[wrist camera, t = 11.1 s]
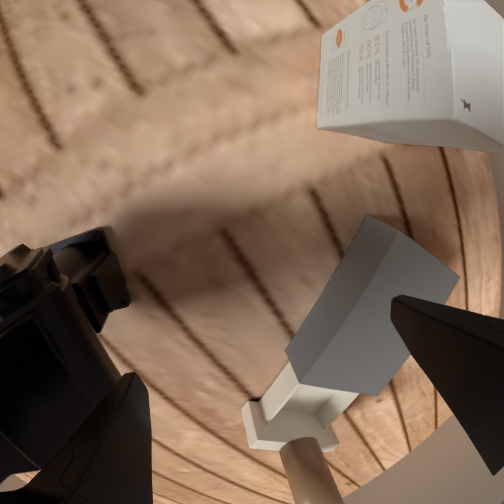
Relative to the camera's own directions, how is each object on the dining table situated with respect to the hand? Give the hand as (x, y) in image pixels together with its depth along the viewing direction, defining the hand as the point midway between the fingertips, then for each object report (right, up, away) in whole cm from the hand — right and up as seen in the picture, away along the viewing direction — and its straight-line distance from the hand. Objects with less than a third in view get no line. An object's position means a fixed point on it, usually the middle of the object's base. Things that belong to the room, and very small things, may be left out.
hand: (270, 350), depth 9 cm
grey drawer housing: (+10, -2, +17) cm, 19 cm away
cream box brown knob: (+6, -10, +18) cm, 22 cm away
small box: (+7, +16, +10) cm, 20 cm away
